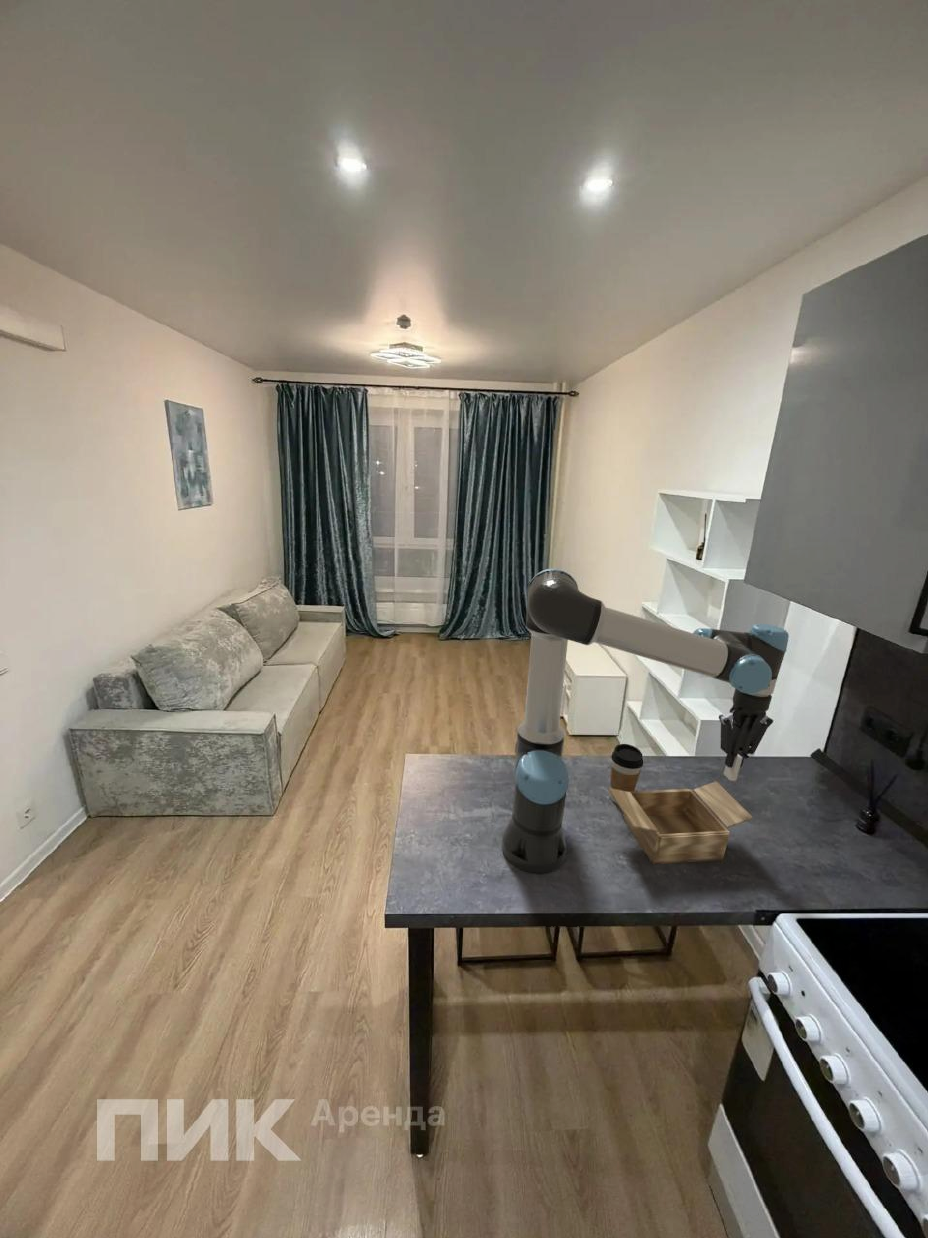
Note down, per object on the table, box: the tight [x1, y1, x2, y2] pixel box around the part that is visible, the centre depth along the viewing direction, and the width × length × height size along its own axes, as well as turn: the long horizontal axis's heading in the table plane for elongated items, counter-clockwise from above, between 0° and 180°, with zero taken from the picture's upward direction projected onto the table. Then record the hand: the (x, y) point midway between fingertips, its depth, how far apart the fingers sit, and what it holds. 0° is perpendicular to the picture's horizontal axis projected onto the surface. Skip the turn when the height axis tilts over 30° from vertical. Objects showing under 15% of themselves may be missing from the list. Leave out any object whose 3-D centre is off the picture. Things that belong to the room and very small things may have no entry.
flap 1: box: [607, 787, 658, 832], centre depth 121 cm, size 1×14×6 cm
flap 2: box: [693, 780, 754, 829], centre depth 125 cm, size 1×14×6 cm
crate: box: [622, 788, 731, 865], centre depth 124 cm, size 18×17×8 cm
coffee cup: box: [609, 743, 644, 804], centre depth 138 cm, size 8×8×15 cm
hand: (729, 777), depth 123 cm, fingers closed
